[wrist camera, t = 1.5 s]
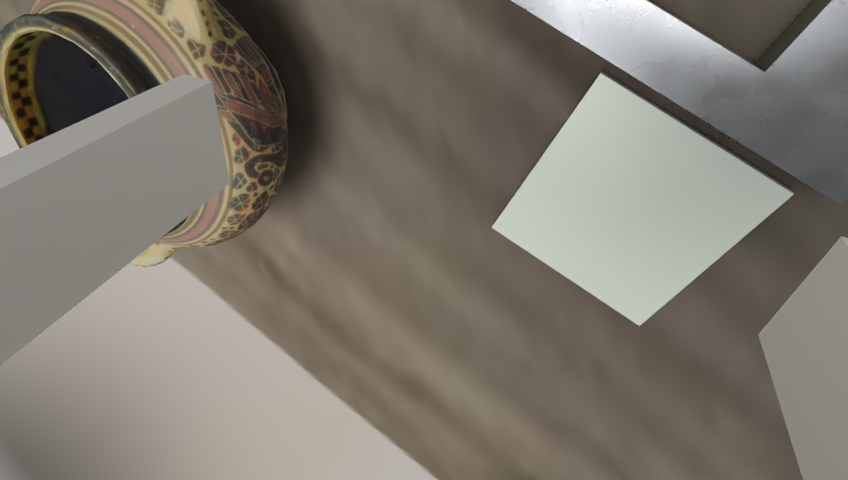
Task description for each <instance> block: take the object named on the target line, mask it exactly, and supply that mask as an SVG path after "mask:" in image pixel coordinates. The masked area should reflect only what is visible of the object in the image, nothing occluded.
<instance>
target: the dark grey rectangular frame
mask: <svg viewBox="0 0 848 480" xmlns="http://www.w3.org/2000/svg"><path fill="white" fill-rule="evenodd" d="M511 1H513V2H514V3H516V4H518V5H519V6H521V7H522V8H524V9H526V10H527V11H529V12H530V13H532V14H534V15H535V16H537V17H538V18H540V19H542V20H543V21H545V22H546V23H548V24H550V25H551V26H553V27H554V28H556V29H558V30H559V31H561V32H563V33H564V34H566V35H567V36H569V37H571V38H572V39H574V40H575V41H577V42H579V43H580V44H582V45H583V46H585V47H587V48H588V49H590V50H591V51H593V52H595V53H596V54H598V55H599V56H601V57H603V58H604V59H606V60H607V61H609V62H611V63H612V64H614V65H615V66H617V67H619V68H620V69H622V70H624V71H625V72H627V73H628V74H630V75H632V76H633V77H635V78H636V79H638V80H640V81H641V82H643V83H644V84H646V85H648V86H649V87H651V88H652V89H654V90H656V91H657V92H659V93H660V94H662V95H664V96H665V97H667V98H668V99H670V100H672V101H673V102H675V103H676V104H678V105H680V106H681V107H683V108H685V109H686V110H688V111H689V112H691V113H693V114H694V115H696V116H697V117H699V118H701V119H702V120H704V121H705V122H707V123H709V124H710V125H712V126H713V127H715V128H717V129H718V130H720V131H721V132H723V133H725V134H726V135H728V136H729V137H731V138H733V139H734V140H736V141H737V142H739V143H741V144H742V145H744V146H746V147H747V148H749V149H750V150H752V151H754V152H755V153H757V154H758V155H760V156H762V157H763V158H765V159H766V160H768V161H770V162H771V163H773V164H774V165H776V166H778V167H779V168H781V169H782V170H784V171H786V172H787V173H789V174H790V175H792V176H794V177H795V178H797V179H798V180H800V181H802V182H803V183H805V184H807V185H808V186H810V187H811V188H813V189H815V190H816V191H818V192H819V193H821V194H823V195H824V196H826V197H827V198H829V199H831V200H832V201H834V202H835V203H837V204H839V205H841V204H842V203H843V202H845V201H846V200H847V199H848V0H812V1H811V3H810V4H809V5H808V6H807V7H806V8H805V9H804V10H803V11H802V12H801V14H800V15H799V16H798V17H797V18H796V19H795V20H794V21H793V22H792V23H791V25H790V26H789V27H788V28H787V29H786V30H785V31H784V32H783V33H782V34H781V36H780V37H779V38H778V39H777V40H776V41H775V42H774V43H773V44H772V45H771V47H770V48H769V49H768V50H767V51H766V52H765V53H764V54H763V55H762V56H761V58H760V59H759V60H758V61H757V62H756V63H754V62H753V61H751V60H749V59H748V58H746V57H744V56H743V55H741V54H739V53H738V52H736V51H734V50H733V49H731V48H729V47H728V46H726V45H725V44H723V43H721V42H720V41H718V40H716V39H715V38H713V37H711V36H710V35H708V34H706V33H705V32H703V31H702V30H700V29H698V28H697V27H695V26H693V25H692V24H690V23H688V22H687V21H685V20H683V19H682V18H680V17H678V16H677V15H675V14H674V13H672V12H670V11H669V10H667V9H665V8H664V7H662V6H660V5H659V4H657V3H655V2H654V1H652V0H511Z"/></svg>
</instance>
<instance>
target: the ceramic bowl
mask: <svg viewBox="0 0 848 480" xmlns="http://www.w3.org/2000/svg"><path fill="white" fill-rule="evenodd" d="M182 74H185V75H189V76H193V77H197V78H201V79H205V80H209V81H212V84H213V90H214V95H215V101H216V107H217V112H218V118H219V124H220V129H221V135H222V141H223V146H224V152H225V158H226V163H227V169H228V175H229V180H230V183H229V184H228V185H227V186H225V187H224V188H223V189H222V190H220V191H219V192H218V193H217V194H215V195H214V196H213V197H212V198H210V199H209V200H208V201H207V202H205V203H204V204H203V205H202V206H200V207H199V208H198V209H196V210H195V211H194V212H193V213H191V214H190V215H189V216H188V217H186V218H185V219H184V220H183V221H181V222H180V223H179V224H178V225H176V226H175V227H174V228H173V229H171V230H170V231H169V232H168V233H166V234H165V235H164V236H162V237H161V238H160V239H159V240H157V241H156V242H155V243H154V244H152V245H151V246H150V247H149V248H147V249H146V250H145V251H144V252H142V253H141V254H140V255H139V256H137V257H136V258H135V259H134V260H132V261H131V262H130V263H131V264H134V265H137V266H142V267H148V266H155V265H158V264H160V263H162V262H164V261H166V260H167V259H168V258H169V257H170V256H171V255H172V254H173V253H174V252H175V251H176V250H177V249H178V248H179V247H205V246H210V245H214V244H218V243H221V242H224V241H227V240H229V239H232V238H234V237H236V236H238V235H239V234H241V233H242V232H244V231H245V230H247V229H248V228H250V227H251V226H253V225H254V224H255V223H256V222H257V221H258V220H259V219H260V218H261V216H262V215H263V214H264V213H265V212H266V211H267V209H268V208H269V206H270V204H271V203H272V201H273V200H274V198H275V196H276V194H277V192H278V190H279V187H280V185H281V183H282V179H283V176H284V172H285V166H286V161H287V156H288V132H287V107H286V100H285V93H284V90H283V87H282V85H281V82H280V79H279V77H278V74H277V71H276V69H275V68H274V67H273V65H272V64H271V63H270V61H269V60H268V58H267V57H266V55H265V54H264V52H263V51H262V50H261V49H260V48H259V47H258V46H257V45H256V44H255V43H254V42H253V41H252V39H251V38H250V37H249V35H248V34H247V32H246V31H245V30H244V29H243V28H242V27H241V25H240V24H239V23H238V21H237V20H236V19H235V18H234V16H233V15H232V14H231V13H229V12H228V11H227V10H226V9H225V8H224V7H223V6H222V5H220V4H219V3H218V2H217V1H216V0H35V2H34V4H33V6H32V9H31V12H30V14H24V15H22V16H20V17H18V18H16V19H14V20H13V21H11V22H10V23H8V24H7V25H5V27H4V28H3V30H2V31H0V110H1V113H2V116H3V118H4V120H5V122H6V124H7V126H8V127H9V129H10V131H11V133H12V135H13V137H14V138H15V140H16V142H17V144H18V146H19V148H20V149H21V148H23V147H25V146H27V145H29V144H32V143H34V142H36V141H38V140H40V139H43V138H45V137H47V136H49V135H51V134H54V133H56V132H58V131H60V130H62V129H64V128H67V127H69V126H71V125H73V124H75V123H78V122H80V121H82V120H84V119H86V118H88V117H91V116H93V115H95V114H97V113H99V112H102V111H104V110H106V109H108V108H110V107H113V106H115V105H117V104H119V103H121V102H123V101H126V100H128V99H130V98H132V97H134V96H137V95H139V94H141V93H143V92H145V91H147V90H150V89H152V88H154V87H156V86H158V85H161V84H163V83H165V82H167V81H169V80H172V79H174V78H176V77H178V76H180V75H182Z"/></svg>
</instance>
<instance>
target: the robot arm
mask: <svg viewBox="0 0 848 480" xmlns="http://www.w3.org/2000/svg"><path fill="white" fill-rule="evenodd" d="M229 183H230V180H229V175H228V169H227V163H226V158H225V152H224V146H223V141H222V135H221V129H220V124H219V118H218V112H217V107H216V101H215V95H214V90H213V84H212V81H209V80H205V79H201V78H197V77H193V76H189V75H185V74H182V75H180V76H178V77H176V78H174V79H172V80H169V81H167V82H165V83H163V84H161V85H158V86H156V87H154V88H152V89H150V90H147V91H145V92H143V93H141V94H139V95H137V96H134V97H132V98H130V99H128V100H126V101H123V102H121V103H119V104H117V105H115V106H113V107H110V108H108V109H106V110H104V111H102V112H99V113H97V114H95V115H93V116H91V117H88V118H86V119H84V120H82V121H80V122H78V123H75V124H73V125H71V126H69V127H67V128H64V129H62V130H60V131H58V132H56V133H54V134H51V135H49V136H47V137H45V138H43V139H40V140H38V141H36V142H34V143H32V144H29V145H27V146H25V147H23V148H21V149H19V150H16V151H14V152H12V153H10V154H8V155H5V156H3V157H1V158H0V365H1V364H3V363H4V362H5V361H6V360H8V359H9V358H10V357H11V356H13V355H14V354H15V353H16V352H18V351H19V350H20V349H21V348H23V347H24V346H25V345H26V344H28V343H29V342H30V341H32V340H33V339H34V338H35V337H36V336H38V335H39V334H40V333H42V332H43V331H44V330H45V329H46V328H48V327H49V326H50V325H52V324H53V323H54V322H55V321H57V320H58V319H59V318H60V317H62V316H63V315H64V314H66V313H67V312H68V311H69V310H71V309H72V308H73V307H74V306H76V305H77V304H78V303H79V302H81V301H82V300H83V299H84V298H85V297H87V296H88V295H89V294H91V293H92V292H93V291H95V290H96V289H97V288H98V287H99V286H101V285H102V284H103V283H105V282H106V281H107V280H108V279H110V278H111V277H112V276H113V275H115V274H116V273H117V272H118V271H120V270H121V269H122V268H123V267H125V266H126V265H127V264H128V263H130V262H131V261H132V260H134V259H135V258H136V257H137V256H139V255H140V254H141V253H142V252H144V251H145V250H146V249H147V248H149V247H150V246H151V245H152V244H154V243H155V242H156V241H157V240H159V239H160V238H161V237H162V236H164V235H165V234H166V233H168V232H169V231H170V230H171V229H173V228H174V227H175V226H176V225H178V224H179V223H180V222H181V221H183V220H184V219H185V218H186V217H188V216H189V215H190V214H191V213H193V212H194V211H195V210H196V209H198V208H199V207H200V206H202V205H203V204H204V203H205V202H207V201H208V200H209V199H210V198H212V197H213V196H214V195H215V194H217V193H218V192H219V191H220V190H222V189H223V188H224V187H225V186H227V185H228V184H229ZM758 335H759V339H760V342H761V345H762V348H763V352H764V355H765V358H766V361H767V365H768V368H769V371H770V374H771V378H772V381H773V384H774V387H775V391H776V394H777V397H778V400H779V403H780V407H781V410H782V413H783V416H784V420H785V423H786V426H787V429H788V433H789V436H790V439H791V442H792V446H793V449H794V452H795V455H796V459H797V462H798V465H799V468H800V471H801V475H802V478H803V480H848V238H846V237H842V236H841V237H840V238H839V239H838V241H837V242H836V243H835V244H834V245H833V247H832V248H831V249H830V250H829V251H828V253H827V254H826V255H825V256H824V257H823V258H822V260H821V261H820V262H819V263H818V264H817V266H816V267H815V268H814V269H813V270H812V271H811V273H810V274H809V275H808V276H807V277H806V279H805V280H804V281H803V282H802V283H801V284H800V286H799V287H798V288H797V289H796V290H795V292H794V293H793V294H792V295H791V296H790V298H789V299H788V300H787V301H786V302H785V303H784V305H783V306H782V307H781V308H780V309H779V311H778V312H777V313H776V314H775V315H774V316H773V318H772V319H771V320H770V321H769V322H768V324H767V325H766V326H765V327H764V328H763V329H762V331H761V332H760V333H759V334H758Z"/></svg>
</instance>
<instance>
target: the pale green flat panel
mask: <svg viewBox="0 0 848 480" xmlns="http://www.w3.org/2000/svg"><path fill="white" fill-rule="evenodd" d="M793 195H794V193H793V191H792V190H791V189H789V188H788V187H786V186H785V185H783V184H781V183H780V182H778V181H777V180H775V179H773V178H772V177H770V176H769V175H767V174H765V173H764V172H762V171H761V170H759V169H757V168H756V167H754V166H753V165H751V164H749V163H748V162H746V161H745V160H743V159H741V158H740V157H738V156H737V155H735V154H733V153H732V152H730V151H729V150H727V149H725V148H724V147H722V146H721V145H719V144H717V143H716V142H714V141H713V140H711V139H709V138H708V137H706V136H705V135H703V134H701V133H700V132H698V131H697V130H695V129H693V128H692V127H690V126H689V125H687V124H685V123H684V122H682V121H681V120H679V119H677V118H676V117H674V116H673V115H671V114H669V113H668V112H666V111H665V110H663V109H661V108H660V107H658V106H657V105H655V104H653V103H652V102H650V101H649V100H647V99H645V98H644V97H642V96H641V95H639V94H637V93H636V92H634V91H633V90H631V89H630V88H628V87H626V86H625V85H623V84H622V83H620V82H618V81H617V80H615V79H614V78H612V77H610V76H609V75H607V74H606V73H604V72H602V71H601V73H600V74H599V76H598V77H597V79H596V80H595V81H594V83H593V84H592V86H591V87H590V88H589V90H588V91H587V93H586V94H585V96H584V97H583V98H582V100H581V101H580V103H579V104H578V105H577V107H576V108H575V110H574V111H573V113H572V114H571V115H570V117H569V118H568V120H567V121H566V122H565V124H564V125H563V127H562V128H561V129H560V131H559V132H558V134H557V135H556V137H555V138H554V139H553V141H552V142H551V144H550V145H549V146H548V148H547V149H546V151H545V152H544V154H543V155H542V156H541V158H540V159H539V161H538V162H537V163H536V165H535V166H534V168H533V169H532V171H531V172H530V173H529V175H528V176H527V178H526V179H525V180H524V182H523V183H522V185H521V186H520V188H519V189H518V190H517V192H516V193H515V195H514V196H513V197H512V199H511V200H510V202H509V203H508V204H507V206H506V207H505V209H504V210H503V212H502V213H501V214H500V216H499V217H498V219H497V220H496V221H495V223H494V224H493V226H492V228H493V229H495V230H496V231H498V232H499V233H501V234H502V235H504V236H505V237H507V238H508V239H510V240H511V241H513V242H514V243H516V244H517V245H519V246H520V247H522V248H523V249H525V250H526V251H528V252H529V253H531V254H532V255H534V256H535V257H537V258H538V259H540V260H541V261H543V262H544V263H546V264H547V265H549V266H550V267H552V268H553V269H555V270H556V271H558V272H559V273H561V274H562V275H564V276H565V277H567V278H568V279H570V280H571V281H573V282H574V283H576V284H577V285H579V286H580V287H582V288H583V289H585V290H586V291H588V292H589V293H591V294H592V295H594V296H595V297H597V298H598V299H600V300H601V301H603V302H604V303H606V304H607V305H609V306H610V307H612V308H613V309H615V310H616V311H618V312H619V313H621V314H622V315H624V316H625V317H627V318H628V319H630V320H631V321H633V322H634V323H636V324H637V325H639V326H640V325H641V324H642V323H644V322H645V321H646V320H647V319H648V318H649V317H651V316H652V315H653V314H654V313H655V312H656V311H658V310H659V309H660V308H661V307H662V306H664V305H665V304H666V303H667V302H668V301H669V300H671V299H672V298H673V297H674V296H675V295H676V294H678V293H679V292H680V291H681V290H682V289H683V288H685V287H686V286H687V285H688V284H689V283H690V282H692V281H693V280H694V279H695V278H696V277H698V276H699V275H700V274H701V273H702V272H703V271H705V270H706V269H707V268H708V267H709V266H710V265H712V264H713V263H714V262H715V261H716V260H717V259H719V258H720V257H721V256H722V255H723V254H724V253H726V252H727V251H728V250H729V249H730V248H732V247H733V246H734V245H735V244H736V243H737V242H739V241H740V240H741V239H742V238H743V237H744V236H746V235H747V234H748V233H749V232H750V231H751V230H753V229H754V228H755V227H756V226H757V225H758V224H760V223H761V222H762V221H763V220H764V219H766V218H767V217H768V216H769V215H770V214H771V213H773V212H774V211H775V210H776V209H777V208H778V207H780V206H781V205H782V204H783V203H784V202H785V201H787V200H788V199H789V198H790V197H791V196H793Z"/></svg>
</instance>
